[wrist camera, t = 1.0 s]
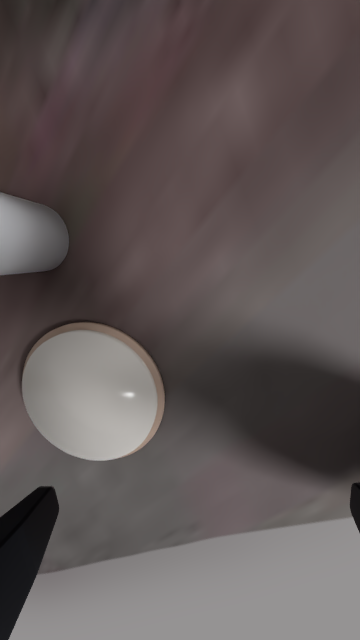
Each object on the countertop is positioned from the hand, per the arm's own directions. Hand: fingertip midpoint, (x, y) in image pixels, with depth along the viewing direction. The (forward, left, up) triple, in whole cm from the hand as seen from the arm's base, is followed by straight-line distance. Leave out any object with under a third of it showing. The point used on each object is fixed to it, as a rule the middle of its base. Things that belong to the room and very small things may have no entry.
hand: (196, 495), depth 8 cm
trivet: (+9, +4, -12) cm, 16 cm away
